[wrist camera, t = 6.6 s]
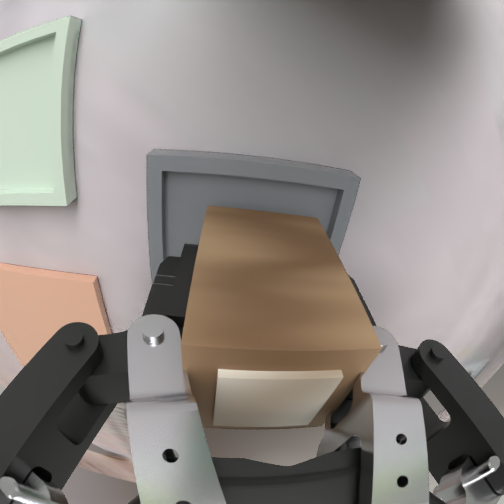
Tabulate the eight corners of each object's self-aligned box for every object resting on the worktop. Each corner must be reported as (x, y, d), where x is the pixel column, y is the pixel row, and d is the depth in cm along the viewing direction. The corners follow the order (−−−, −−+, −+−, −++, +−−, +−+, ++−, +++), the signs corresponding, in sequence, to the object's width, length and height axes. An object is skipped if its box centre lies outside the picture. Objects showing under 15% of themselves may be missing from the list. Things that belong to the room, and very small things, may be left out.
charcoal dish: (351, 171, 11) (360, 178, 10) (308, 314, 16) (312, 326, 15) (153, 149, 10) (146, 154, 9) (159, 305, 15) (156, 318, 14)
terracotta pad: (97, 275, 13) (93, 282, 13) (130, 386, 19) (129, 392, 19) (-27, 258, 12) (-31, 263, 11) (24, 360, 18) (22, 365, 17)
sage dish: (81, 19, 7) (70, 15, 6) (77, 197, 11) (67, 206, 10) (-32, 62, 6) (-43, 64, 5) (-25, 198, 10) (-35, 206, 9)
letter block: (317, 217, 10) (385, 355, 5) (293, 299, 12) (322, 431, 7) (207, 205, 10) (179, 353, 5) (201, 292, 12) (187, 431, 7)
